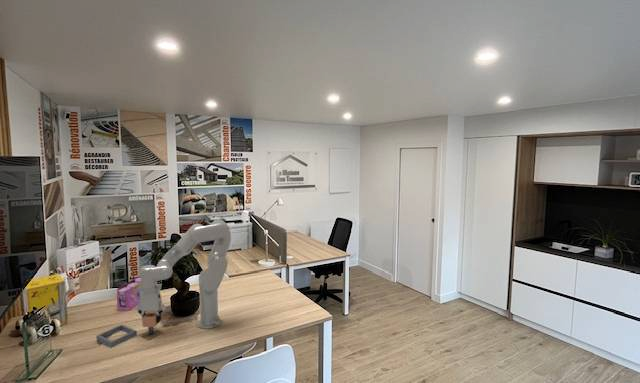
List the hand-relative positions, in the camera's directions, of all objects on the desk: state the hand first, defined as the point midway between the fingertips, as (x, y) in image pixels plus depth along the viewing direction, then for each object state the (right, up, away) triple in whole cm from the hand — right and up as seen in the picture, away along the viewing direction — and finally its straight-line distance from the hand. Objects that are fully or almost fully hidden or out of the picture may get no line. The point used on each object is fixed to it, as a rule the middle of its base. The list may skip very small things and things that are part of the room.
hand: (151, 321), depth 176 cm
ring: (0, -1, 0) cm, 1 cm away
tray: (-16, -8, -3) cm, 18 cm away
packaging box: (-65, -6, +12) cm, 66 cm away
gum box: (-31, -4, +40) cm, 51 cm away
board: (-1, -8, +1) cm, 8 cm away
